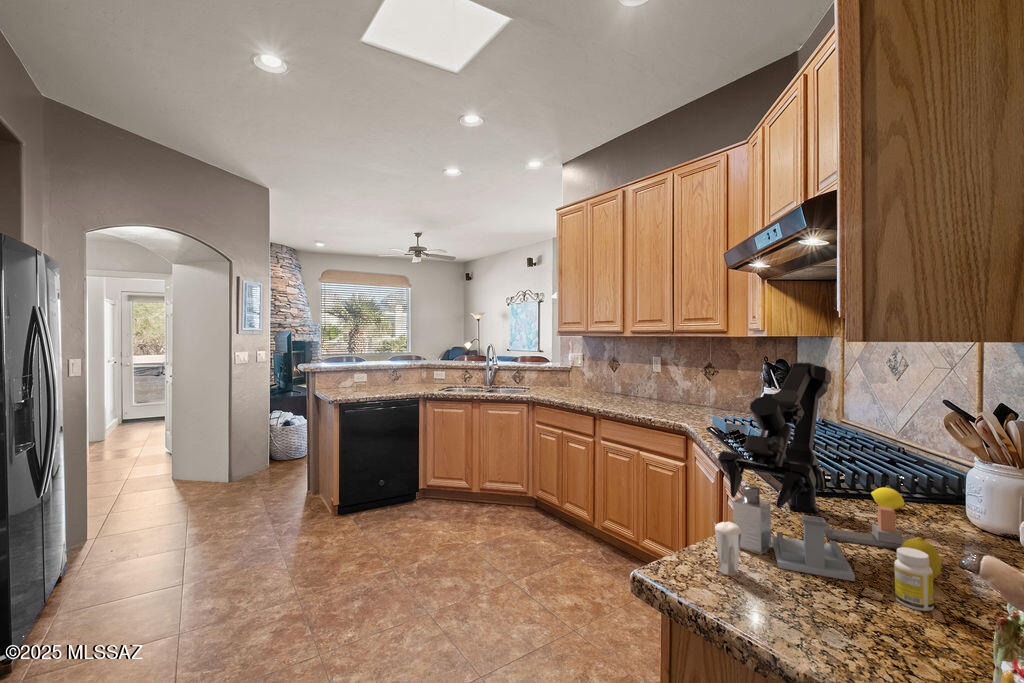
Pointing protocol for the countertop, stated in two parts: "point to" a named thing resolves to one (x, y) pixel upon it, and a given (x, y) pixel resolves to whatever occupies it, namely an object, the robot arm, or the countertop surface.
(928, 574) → the supplement bottle
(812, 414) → the robot arm
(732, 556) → the milkshake
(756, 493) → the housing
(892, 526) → the lever
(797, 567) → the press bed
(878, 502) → the lemon
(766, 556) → the countertop surface
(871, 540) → the rail
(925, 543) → the lemon
